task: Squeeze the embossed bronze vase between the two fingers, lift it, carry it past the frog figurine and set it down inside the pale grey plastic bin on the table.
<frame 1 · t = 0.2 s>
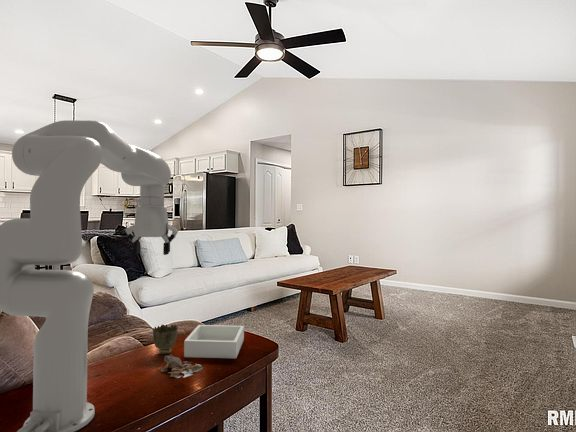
hand: (151, 254, 119), 30 cm above the table, tool pointing down, fingers open, 9 cm apart
bin: (215, 348, 117), on the table
frog figurine: (178, 372, 101), on the table
embossed bronze vase: (164, 353, 113), on the table
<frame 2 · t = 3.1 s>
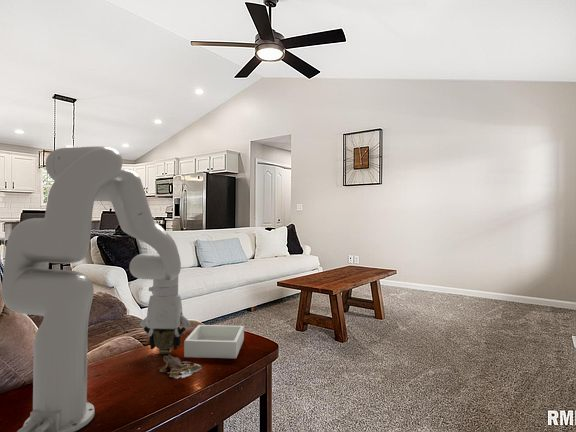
hand: (164, 347, 113), 2 cm above the table, tool pointing down, fingers closed on embossed bronze vase, 6 cm apart
embossed bronze vase: (164, 353, 113), on the table, touching gripper
everything else where it was.
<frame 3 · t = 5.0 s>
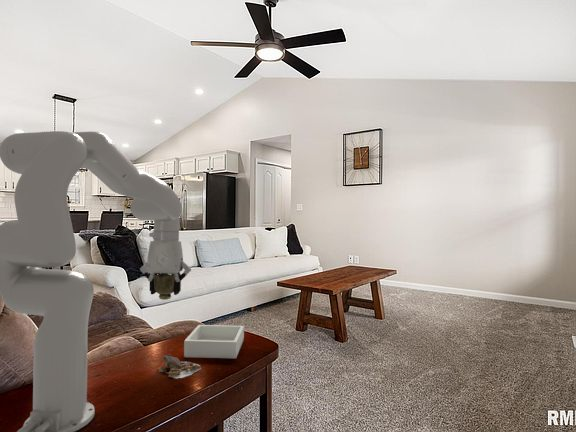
hand: (165, 293, 112), 19 cm above the table, tool pointing down, fingers closed on embossed bronze vase, 6 cm apart
embossed bronze vase: (165, 299, 112), point 17 cm above the table, touching gripper
everything else where it was.
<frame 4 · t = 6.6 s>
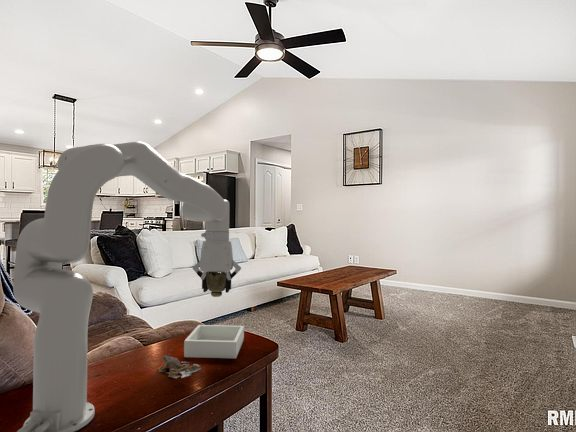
hand: (216, 291, 117), 19 cm above the table, tool pointing down, fingers closed on embossed bronze vase, 6 cm apart
embossed bronze vase: (216, 296, 117), point 17 cm above the table, touching gripper
everything else where it was.
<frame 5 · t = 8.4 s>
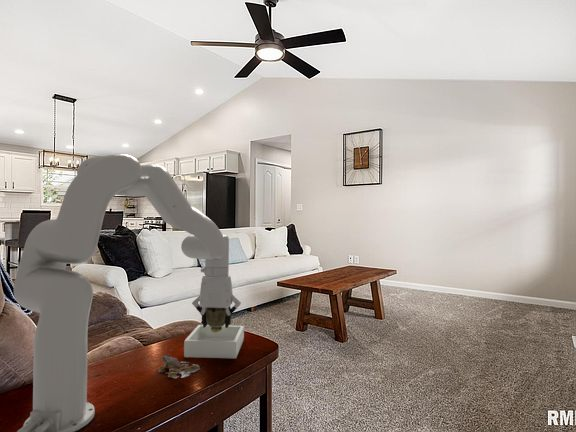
hand: (216, 326, 117), 7 cm above the table, tool pointing down, fingers closed on embossed bronze vase, 6 cm apart
embossed bronze vase: (216, 331, 117), point 5 cm above the table, touching gripper
everything else where it was.
when the fingers open (5 cm above the table, at t = 10.1 s): embossed bronze vase stays where it is, resting on bin.
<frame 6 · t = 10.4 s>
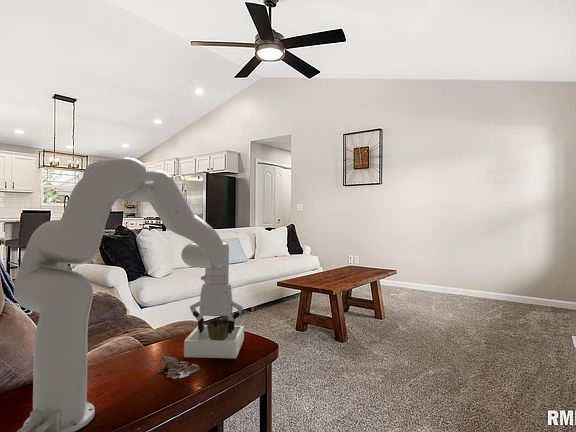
hand: (216, 332, 117), 5 cm above the table, tool pointing down, fingers open, 9 cm apart
embossed bronze vase: (218, 345, 117), point 1 cm above the table, touching bin, gripper
everything else where it was.
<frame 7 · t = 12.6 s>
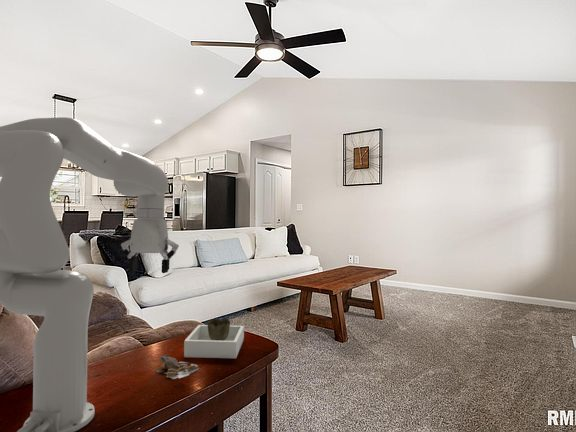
hand: (149, 272, 107), 26 cm above the table, tool pointing down, fingers open, 9 cm apart
embossed bronze vase: (218, 345, 117), point 1 cm above the table, touching bin
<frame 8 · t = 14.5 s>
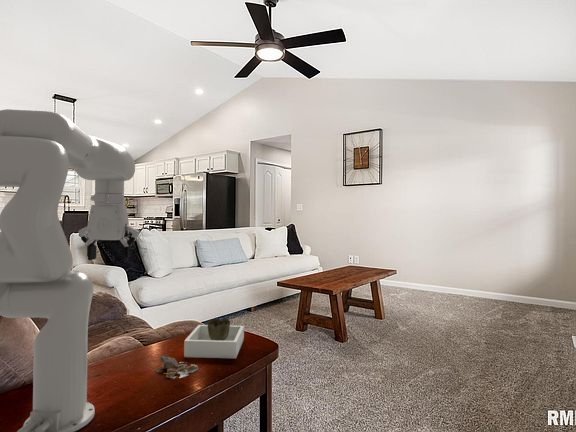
hand: (108, 259, 103), 30 cm above the table, tool pointing down, fingers open, 9 cm apart
at the end: embossed bronze vase inside the target area on the bin (0.9 cm from its centre), point 0.8 cm above the bin's base; embossed bronze vase tilted 0°; frog figurine moved 1.4 cm from its start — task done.
